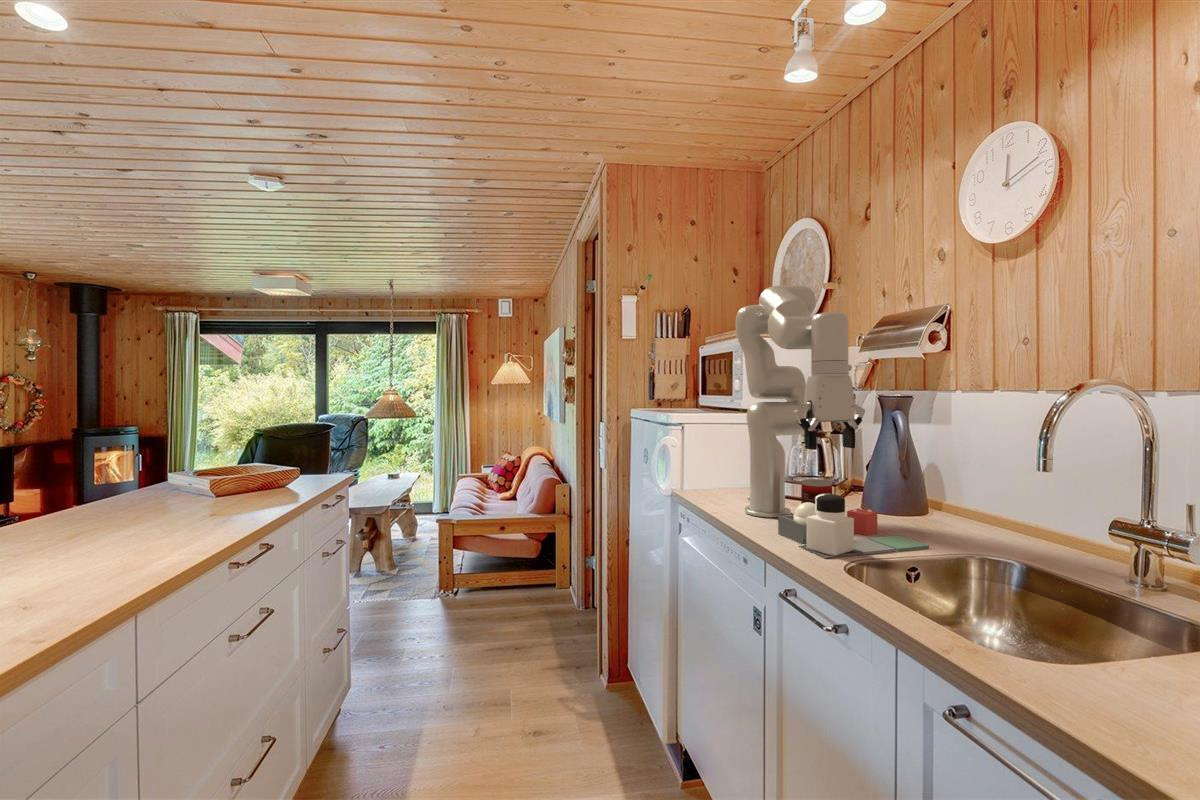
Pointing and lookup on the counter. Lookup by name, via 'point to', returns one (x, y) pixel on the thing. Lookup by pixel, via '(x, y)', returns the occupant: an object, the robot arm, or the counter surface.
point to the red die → (863, 521)
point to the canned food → (814, 489)
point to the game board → (878, 546)
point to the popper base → (792, 529)
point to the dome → (804, 512)
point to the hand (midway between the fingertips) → (830, 448)
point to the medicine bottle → (830, 526)
